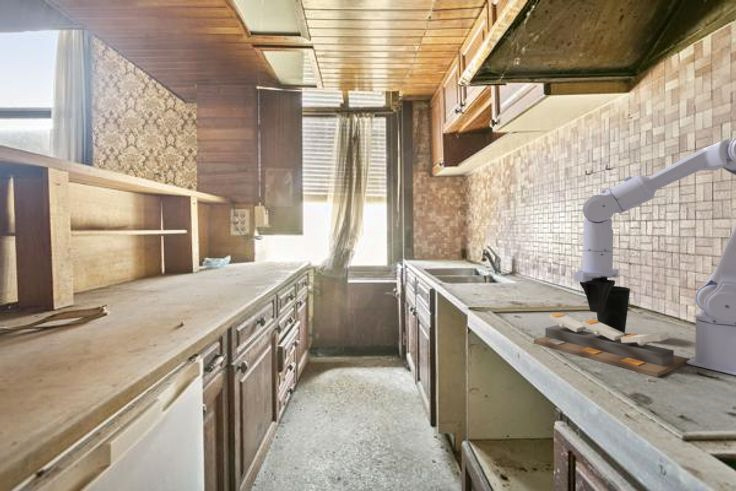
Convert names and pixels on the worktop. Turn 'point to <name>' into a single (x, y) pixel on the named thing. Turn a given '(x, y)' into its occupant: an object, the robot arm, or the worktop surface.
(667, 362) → the switch board
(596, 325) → the switch
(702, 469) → the worktop surface
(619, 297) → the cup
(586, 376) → the worktop surface
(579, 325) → the switch
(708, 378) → the worktop surface
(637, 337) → the switch
